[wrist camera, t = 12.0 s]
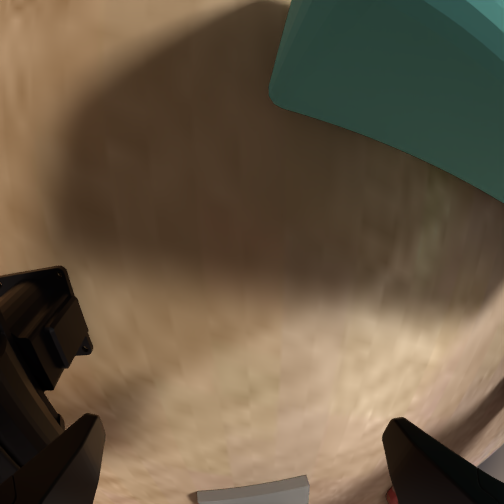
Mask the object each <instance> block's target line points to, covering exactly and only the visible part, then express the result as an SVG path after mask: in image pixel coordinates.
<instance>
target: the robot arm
mask: <svg viewBox="0 0 504 504" xmlns="http://www.w3.org/2000/svg"><path fill="white" fill-rule="evenodd" d="M58 272H60V273H61V275H62V277H60V276H59V275H58ZM0 282H1V284H2V285H1V284H0V504H93V501H94V497H95V493H96V489H97V485H98V481H99V476H100V469H101V462H102V455H103V449H104V443H105V430H104V428H103V425H102V422H101V419H100V417H99V416H98V415H95V414H90V413H86V414H84V415H83V416H82V417H81V418H80V419H78V420H77V421H76V422H75V423H74V424H72V425H71V426H70V427H69V428H68V429H67V430H65V427H64V420H63V418H62V417H61V415H60V414H57V412H56V411H55V409H54V408H53V406H52V405H51V403H50V402H49V400H48V399H47V397H46V396H45V394H44V392H45V390H54V388H55V386H56V384H57V382H58V380H59V378H60V376H61V374H62V372H63V370H64V369H67V368H69V366H70V364H71V362H72V360H73V359H74V357H75V356H79V355H90V354H91V352H92V350H93V345H92V342H91V340H90V337H89V335H88V328H87V325H86V322H85V319H84V317H83V314H82V311H81V308H80V305H79V302H78V299H77V298H76V297H75V296H74V293H73V289H72V286H71V283H70V280H69V277H68V273H67V271H66V269H65V268H64V267H63V266H54V267H48V268H42V269H36V270H31V271H25V272H19V273H13V274H8V275H2V276H0ZM84 346H86V347H87V348H88V349H86V348H85V347H84ZM382 441H383V446H384V450H385V455H386V459H387V464H388V469H389V474H390V477H391V481H392V484H393V487H394V490H395V493H396V496H397V499H398V502H399V504H504V483H503V482H501V481H499V480H497V479H495V478H493V477H492V476H490V475H489V474H487V473H485V472H483V471H482V470H481V469H479V468H477V467H476V466H474V465H473V464H471V463H470V462H468V461H467V460H465V459H464V458H462V457H461V456H459V455H458V454H456V453H455V452H453V451H452V450H450V449H449V448H447V447H446V446H444V445H443V444H441V443H440V442H438V441H437V440H436V439H434V438H433V437H431V436H430V435H428V434H427V433H425V432H424V431H423V430H421V429H420V428H418V427H417V426H415V425H414V424H413V423H411V422H410V421H408V420H407V419H406V418H404V417H398V418H393V419H392V420H391V421H390V422H389V424H388V426H387V428H386V429H385V431H384V433H383V436H382Z"/></svg>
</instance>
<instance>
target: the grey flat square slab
mask: <svg viewBox="0 0 504 504" xmlns="http://www.w3.org/2000/svg"><path fill="white" fill-rule="evenodd" d="M309 487H310V485H309V482H308V479H307V476H306V475H304V476H300V477H295V478H291V479H286V480H281V481H276V482H271V483H265V484H259V485H252V486H246V487H238V488H230V489H220V490H209V491H197V498H198V503H199V504H308V502H309Z"/></svg>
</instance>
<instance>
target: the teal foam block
mask: <svg viewBox="0 0 504 504" xmlns="http://www.w3.org/2000/svg"><path fill="white" fill-rule="evenodd" d="M269 97H270V98H271V100H272V102H273V103H274V104H275V105H277V106H279V107H281V108H283V109H286V110H290V111H293V112H296V113H300V114H303V115H306V116H309V117H313V118H316V119H319V120H322V121H325V122H328V123H331V124H334V125H337V126H340V127H342V128H345V129H348V130H351V131H354V132H356V133H359V134H362V135H364V136H367V137H369V138H372V139H374V140H377V141H380V142H382V143H384V144H387V145H389V146H392V147H394V148H396V149H399V150H401V151H403V152H406V153H408V154H410V155H412V156H415V157H417V158H419V159H421V160H423V161H426V162H428V163H430V164H432V165H434V166H436V167H438V168H440V169H442V170H444V171H446V172H448V173H450V174H452V175H454V176H456V177H458V178H460V179H462V180H464V181H465V182H467V183H469V184H471V185H473V186H475V187H476V188H478V189H480V190H482V191H484V192H485V193H487V194H489V195H491V196H492V197H494V198H496V199H497V200H499V201H501V202H502V203H504V0H292V1H291V5H290V8H289V12H288V16H287V19H286V23H285V27H284V30H283V34H282V38H281V41H280V45H279V49H278V53H277V56H276V60H275V64H274V68H273V72H272V76H271V79H270V83H269Z"/></svg>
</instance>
